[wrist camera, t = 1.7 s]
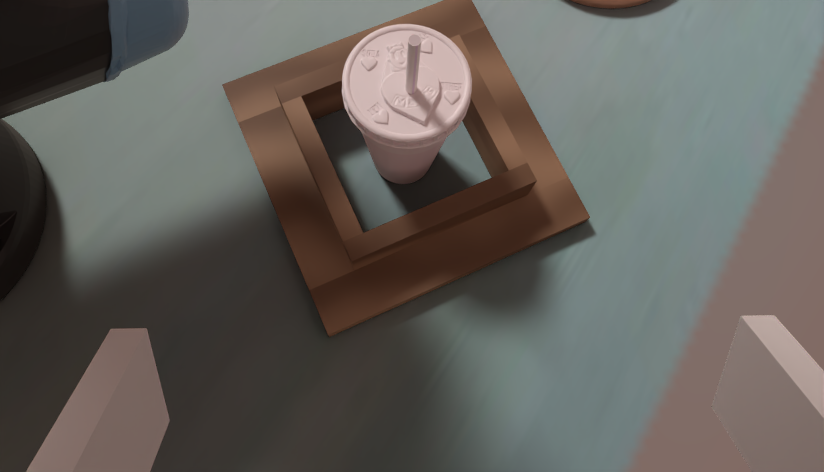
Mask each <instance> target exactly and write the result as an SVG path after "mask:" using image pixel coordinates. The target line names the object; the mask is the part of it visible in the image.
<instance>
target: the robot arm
mask: <svg viewBox="0 0 824 472" xmlns="http://www.w3.org/2000/svg"><path fill="white" fill-rule="evenodd" d="M188 16H189V10H188V0H0V300H2V299H3V298H4V296H5V295H6V294H7V293H8V292H9V291H10V290H11V289H12V288H13V286H14V285H15V284H16V283H17V281H18V280H19V279H20V277H21V276H22V275H23V273H24V271H25V270H26V268H27V267H28V265H29V263H30V261H31V260H32V258H33V255H34V253H35V251H36V249H37V246H38V244H39V241H40V238H41V235H42V231H43V227H44V222H45V215H46V189H45V183H44V177H43V174H42V171H41V168H40V165H39V162H38V160H37V158H36V156H35V154H34V152H33V151H32V149H31V147H30V146H29V145H28V143H27V142H26V141H25V139H24V138H23V137H22V136H21V135H20V134H19V133H18V132H17V131H16V130H15V129H14V128H13V127H12V126H10V125H9V124H8V123H7V122H5V121H4V120H3V119H1V118H4V117H7V116H10V115H12V114H15V113H18V112H21V111H23V110H26V109H29V108H32V107H34V106H37V105H40V104H43V103H45V102H48V101H51V100H54V99H57V98H59V97H62V96H65V95H68V94H70V93H73V92H76V91H79V90H81V89H84V88H87V87H90V86H92V85H95V84H98V83H101V82H108V81H111V80H114V79H115V78H116V77H118V76H119V74H120V73H121V71H124V70H126V69H128V68H130V67H132V66H134V65H137V64H139V63H141V62H143V61H145V60H147V59H150V58H152V57H154V56H156V55H158V54H160V53H163V52H165V51H167V50H169V49H170V48H172V47H173V46H174V45H175V44H176V43H177V42H178V41H179V40H180V39H181V37H182V36H183V34H184V32H185V30H186V27H187V24H188ZM712 408H713V410H714V411H715V413H716V415H717V416H718V418H719V419H720V421H721V423H722V424H723V426H724V427H725V429H726V431H727V432H728V434H729V436H730V437H731V439H732V440H733V442H734V444H735V445H736V447H737V448H738V450H739V452H740V453H741V455H742V457H743V458H744V460H745V461H746V463H747V465H748V466H749V468H750V469H751V471H752V472H824V371H823V370H822V369H821V368H820V366H819V365H818V364H817V363H816V362H815V361H814V360H813V358H812V357H811V356H810V355H809V354H808V353H807V352H806V351H805V350H804V349H803V347H802V346H801V345H800V344H799V343H798V342H797V340H796V339H795V338H794V337H793V336H792V335H791V334H790V333H789V331H788V330H787V329H786V328H785V327H784V326H783V325H782V324H781V323H780V321H779V320H778V319H777V318H776V317H775V316H774V315H762V316H741V317H740V320H739V323H738V326H737V329H736V332H735V335H734V339H733V342H732V345H731V348H730V351H729V354H728V357H727V360H726V363H725V367H724V370H723V373H722V376H721V379H720V382H719V385H718V388H717V391H716V394H715V398H714V401H713V404H712ZM169 422H170V419H169V415H168V411H167V407H166V403H165V399H164V395H163V391H162V387H161V383H160V379H159V375H158V371H157V367H156V363H155V359H154V355H153V351H152V347H151V343H150V339H149V335H148V331H147V328H126V329H110V331H109V333H108V334H107V336H106V338H105V339H104V341H103V343H102V344H101V346H100V348H99V349H98V351H97V353H96V354H95V356H94V358H93V359H92V361H91V363H90V365H89V366H88V368H87V370H86V371H85V373H84V375H83V376H82V378H81V380H80V381H79V383H78V385H77V386H76V388H75V390H74V392H73V393H72V395H71V397H70V398H69V400H68V402H67V403H66V405H65V407H64V408H63V410H62V412H61V413H60V415H59V417H58V418H57V420H56V422H55V424H54V425H53V427H52V429H51V430H50V432H49V434H48V435H47V437H46V439H45V440H44V442H43V444H42V445H41V447H40V449H39V450H38V452H37V454H36V456H35V457H34V459H33V461H32V462H31V464H30V466H29V467H28V469H27V471H26V472H150V471H151V468H152V466H153V463H154V460H155V458H156V455H157V453H158V450H159V447H160V445H161V442H162V440H163V437H164V434H165V432H166V429H167V427H168V424H169Z"/></svg>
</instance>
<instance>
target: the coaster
mask: <svg viewBox="0 0 824 472" xmlns="http://www.w3.org/2000/svg"><path fill="white" fill-rule="evenodd" d="M571 1H573V2H576V3H579V4H583V5H586V6H591V7H597V8H611V9H614V8H626V7H632V6H637V5H640V4H643V3H646V2H649V1H651V0H571Z"/></svg>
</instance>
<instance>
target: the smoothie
mask: <svg viewBox="0 0 824 472" xmlns="http://www.w3.org/2000/svg"><path fill="white" fill-rule="evenodd" d="M471 90H472V78H471V72H470V68H469V65H468V62H467V60H466V58H465V56H464V55H463V53H462V52H461V50H460V49H459V48H458V47H457V46H456V44H455V43H453V42H452V41H451V40H450V39H449V38H447V37H446V36H445V35H443V34H441V33H440V32H438V31H436V30H433V29H431V28H428V27H425V26H420V25H414V24H397V25H391V26H387V27H384V28H381V29H378V30H376V31H374V32H372V33H370V34H369V35H367V36H366V37H365V38H363V39H362V40H361V41H360V42H359V43H358V44H357V45H356V46H355V47H354V49H353V50H352V51H351V53H350V54H349V56H348V58H347V60H346V63H345V66H344V69H343V75H342V96H343V102H344V107H345V109H346V111H347V113H348V115H349V117H350V119H351V121H352V122H353V123H354V124H355V125H356V127H357V128H358V129H359V130H360V131H361V132H362V135H363V137H364V140H365V142H366V145H367V147H368V150H369V152H370V155H371V157H372V160H373V162H374V164H375V167H376V169H377V171H378V172H379V173H380V174H381V175H382V176H383V177H384V178H385V179H387V180H388V181H391V182H393V183H397V184H409V183H413V182H415V181H417V180H419V179H421V178H422V177H423V176H424V175H425V174H426V173H427V171H428V170H429V168H430V166H431V164H432V163H433V161H434V159H435V157H436V155H437V154H438V152H439V150H440V148H441V146H442V145H443V143H444V141H445V139H446V137H447V136H448V135H450V134H451V133H452V132H453V131H454V130H456V129H457V127H458V126H459V124H460V123H461V121H462V120H463V119H464V117H465V115H466V113H467V110H468V107H469V104H470V97H471Z"/></svg>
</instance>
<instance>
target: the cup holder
mask: <svg viewBox="0 0 824 472" xmlns="http://www.w3.org/2000/svg"><path fill="white" fill-rule="evenodd" d="M397 24H414V25H420V26H425V27H428V28H431V29H433V30H436V31H438V32H440V33H441V34H443V35H445V36H446V37H447V38H449V39H450V40H451V41H452V42H453V43H455V44H456V46H457V47H458V48H459V49H460V50H461V52H462V53H463V55H464V56H465V58H466V60H467V62H468V65H469V68H470V72H471V78H472V90H471V97H470V104H469V107H468V110H467V113H466V115H465V117H464V119H463V120H462V121H463V123H464V125H465V127H466V129H467V131H468V133H469V134H470V136H471V138H472V140H473V142H474V144H475V146H476V148H477V150H478V152H479V154H480V156H481V158H482V160H483V162H484V164H485V165H486V167H487V169H488V171H489V173H490V175H491V177H492V178H490V179H488V180H486V181H483V182H481V183H479V184H476V185H474V186H472V187H469V188H467V189H465V190H462V191H460V192H458V193H455V194H453V195H451V196H448V197H446V198H444V199H441V200H439V201H437V202H434V203H432V204H430V205H427V206H425V207H423V208H420V209H418V210H416V211H413V212H411V213H409V214H406V215H404V216H402V217H399V218H397V219H395V220H392V221H390V222H388V223H385V224H383V225H381V226H378V227H376V228H374V229H371V230H369V231H367V232H364V233H363V231H362V229H361V227H360V225H359V222H358V220H357V218H356V216H355V214H354V211H353V209H352V207H351V205H350V203H349V200H348V198H347V196H346V194H345V192H344V189H343V187H342V185H341V183H340V181H339V178H338V176H337V174H336V172H335V170H334V167H333V165H332V163H331V161H330V159H329V156H328V154H327V152H326V150H325V148H324V145H323V143H322V141H321V139H320V137H319V134H318V132H317V130H316V128H315V126H314V123H313V121H312V120H315V119H317V118H320V117H323V116H325V115H328V114H330V113H333V112H335V111H338V110H340V109H343V108H345V107H344V102H343V96H342V75H343V69H344V66H345V63H346V60H347V58H348V56H349V54H350V53H351V51H352V50H353V49H354V47H355V46H356V45H357V44H358V43H359V42H360V41H361V40H362V39H363V38H365V37H366V36H367V35H369V34H370V33H372V32H374V31H376V30H378V29H381V28H384V27H387V26H391V25H397ZM222 86H223V88H224V90H225V93H226V95H227V98H228V100H229V102H230V105H231V107H232V109H233V112H234V114H235V116H236V119H237V121H238V123H239V126H240V128H241V131H242V133H243V135H244V138H245V140H246V142H247V145H248V147H249V149H250V152H251V154H252V157H253V159H254V161H255V164H256V166H257V168H258V171H259V173H260V175H261V178H262V180H263V182H264V185H265V187H266V190H267V192H268V194H269V197H270V199H271V201H272V204H273V206H274V208H275V211H276V213H277V216H278V218H279V220H280V223H281V225H282V227H283V230H284V232H285V234H286V237H287V239H288V241H289V244H290V246H291V249H292V251H293V253H294V256H295V258H296V260H297V263H298V265H299V267H300V270H301V272H302V275H303V277H304V279H305V282H306V284H307V286H308V289H309V291H310V293H311V296H312V298H313V300H314V303H315V305H316V308H317V310H318V312H319V315H320V317H321V319H322V322H323V324H324V326H325V329H326V331H327V334H328V335H329V337H331V336H333V335H335V334H337V333H339V332H342V331H344V330H346V329H348V328H351V327H353V326H355V325H357V324H359V323H362V322H364V321H366V320H368V319H371V318H373V317H375V316H377V315H379V314H382V313H384V312H386V311H388V310H391V309H393V308H395V307H397V306H399V305H402V304H404V303H406V302H408V301H411V300H413V299H415V298H417V297H419V296H422V295H424V294H426V293H428V292H431V291H433V290H435V289H437V288H439V287H442V286H444V285H446V284H448V283H451V282H453V281H455V280H457V279H459V278H462V277H464V276H466V275H468V274H471V273H473V272H475V271H477V270H480V269H482V268H484V267H486V266H488V265H491V264H493V263H495V262H497V261H500V260H502V259H504V258H506V257H508V256H511V255H513V254H515V253H517V252H520V251H522V250H524V249H526V248H528V247H531V246H533V245H535V244H537V243H540V242H542V241H544V240H546V239H548V238H551V237H553V236H555V235H557V234H560V233H562V232H564V231H566V230H568V229H571V228H573V227H575V226H577V225H580V224H582V223H584V222H586V221H587V220H588V219H589V218H590V216H589V214H588V212H587V211H586V209H585V207H584V205H583V203H582V201H581V200H580V198H579V196H578V194H577V192H576V190H575V189H574V187H573V185H572V183H571V181H570V179H569V178H568V176H567V174H566V172H565V170H564V168H563V167H562V165H561V163H560V161H559V159H558V157H557V156H556V154H555V152H554V150H553V148H552V146H551V145H550V143H549V141H548V139H547V137H546V135H545V134H544V132H543V130H542V128H541V126H540V125H539V123H538V121H537V119H536V117H535V115H534V114H533V112H532V110H531V108H530V106H529V104H528V103H527V101H526V99H525V97H524V95H523V93H522V92H521V90H520V88H519V86H518V84H517V82H516V81H515V79H514V77H513V75H512V73H511V71H510V70H509V68H508V66H507V64H506V62H505V60H504V59H503V57H502V55H501V53H500V51H499V49H498V48H497V46H496V44H495V42H494V40H493V39H492V37H491V35H490V33H489V31H488V29H487V28H486V26H485V24H484V22H483V20H482V18H481V17H480V15H479V13H478V11H477V9H476V7H475V6H474V4H473V2H472V0H444V1H441V2H438V3H436V4H433V5H431V6H428V7H425V8H423V9H420V10H417V11H415V12H412V13H409V14H407V15H404V16H402V17H399V18H396V19H394V20H391V21H388V22H386V23H383V24H381V25H378V26H375V27H373V28H370V29H367V30H365V31H362V32H360V33H357V34H354V35H352V36H349V37H346V38H344V39H341V40H339V41H336V42H333V43H331V44H328V45H325V46H323V47H320V48H317V49H315V50H312V51H310V52H307V53H304V54H302V55H299V56H296V57H294V58H291V59H289V60H286V61H283V62H281V63H278V64H275V65H273V66H270V67H268V68H265V69H262V70H260V71H257V72H254V73H252V74H249V75H246V76H244V77H241V78H239V79H236V80H233V81H231V82H228V83H225V84H223V85H222Z"/></svg>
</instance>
